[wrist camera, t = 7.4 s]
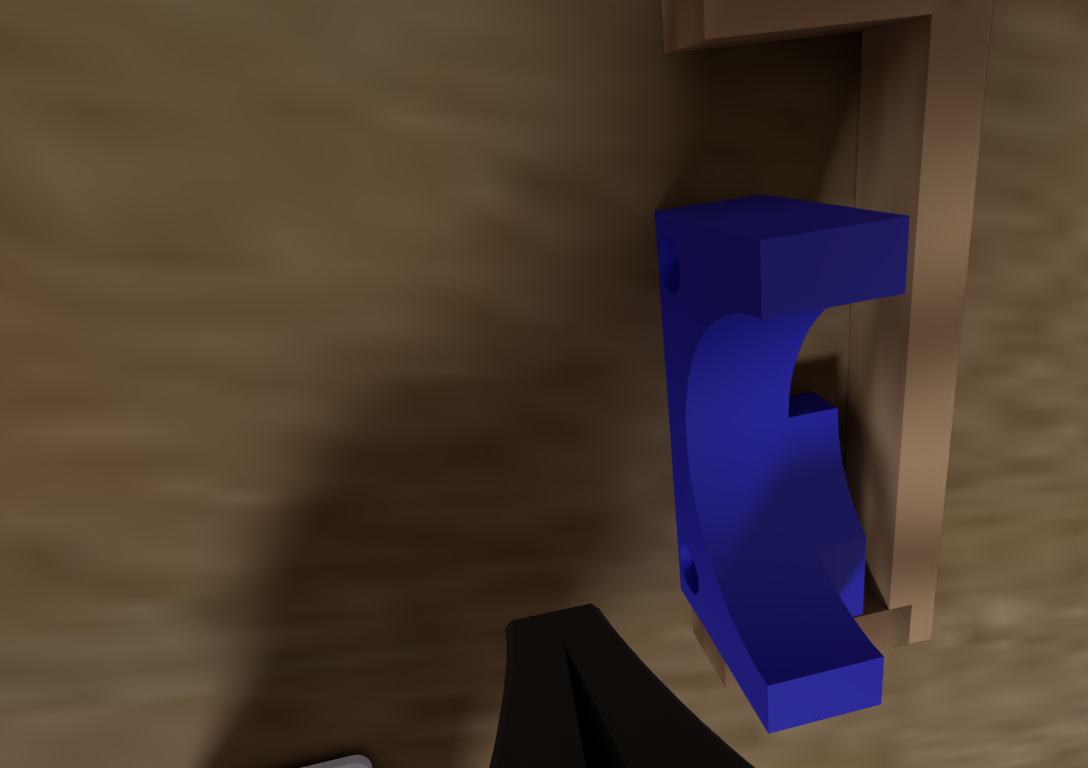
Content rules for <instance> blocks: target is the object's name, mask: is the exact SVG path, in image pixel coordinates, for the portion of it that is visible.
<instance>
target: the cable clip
mask: <svg viewBox="0 0 1088 768" xmlns="http://www.w3.org/2000/svg"><path fill="white" fill-rule="evenodd" d="M655 221H656V235H657V249H658V264H659V278H660V293H661V307H662V321H663V336H664V350H665V365H666V379H667V393H668V408H669V422H670V436H671V451H672V465H673V480H674V494H675V508H676V523H677V537H678V552H679V566H680V580H681V590H682V591H683V593H684V595H685V596H686V598H687V600H688V601H689V603H690V604H691V606H692V608H693V609H694V611H695V613H696V614H697V616H698V618H699V619H700V621H701V623H702V624H703V626H704V628H705V629H706V631H707V633H708V634H709V636H710V638H711V639H712V641H713V643H714V644H715V646H716V648H717V649H718V651H719V652H720V654H721V656H722V657H723V659H724V661H725V662H726V664H727V666H728V667H729V669H730V671H731V672H732V674H733V676H734V677H735V679H736V681H737V682H738V684H739V686H740V687H741V689H742V691H743V692H744V694H745V696H746V697H747V699H748V700H749V702H750V704H751V705H752V707H753V709H754V710H755V712H756V714H757V715H758V717H759V719H760V720H761V722H762V724H763V725H764V727H765V729H766V730H767V732H768V734H769V733H773V732H777V731H780V730H784V729H788V728H792V727H796V726H800V725H803V724H807V723H811V722H815V721H819V720H823V719H826V718H830V717H834V716H838V715H842V714H846V713H849V712H853V711H857V710H861V709H865V708H869V707H872V706H876V705H880V704H881V697H882V680H883V663H884V656H883V655H882V654H881V653H880V652H879V650H878V649H877V648H876V647H875V646H874V645H873V644H872V642H871V641H870V640H869V638H868V637H867V636H866V635H865V633H864V632H863V631H862V629H861V628H860V627H859V625H858V624H857V622H856V621H855V619H854V618H853V616H857V615H861V614H863V598H864V575H865V552H866V536H865V533H864V531H863V529H862V526H861V524H860V521H859V519H858V516H857V513H856V510H855V507H854V504H853V502H852V499H851V495H850V492H849V488H848V484H847V481H846V476H845V472H844V467H843V462H842V456H841V450H840V442H839V432H838V408H837V407H836V406H834V405H832V404H831V403H829V402H828V401H826V400H824V399H823V398H821V397H820V396H818V395H816V394H815V393H813V392H809V393H804V394H799V395H794V396H789V394H790V386H791V379H792V374H793V369H794V365H795V362H796V358H797V355H798V352H799V349H800V347H801V344H802V342H803V339H804V338H805V336H806V334H807V332H808V330H809V328H810V327H811V325H812V324H813V323H814V321H815V320H816V318H817V317H818V316H819V315H820V314H821V313H822V312H823V311H824V310H825V309H826V308H828V307H834V306H839V305H845V304H850V303H856V302H861V301H867V300H873V299H878V298H884V297H889V296H895V295H900V294H905V289H906V272H907V255H908V238H909V221H910V216H908V215H901V214H894V213H887V212H880V211H873V210H866V209H859V208H852V207H845V206H838V205H832V204H825V203H818V202H811V201H804V200H797V199H790V198H783V197H776V196H769V195H756V196H749V197H743V198H737V199H730V200H724V201H717V202H711V203H705V204H698V205H692V206H685V207H679V208H672V209H666V210H660V211H655Z"/></svg>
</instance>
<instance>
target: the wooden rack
mask: <svg viewBox="0 0 1088 768" xmlns="http://www.w3.org/2000/svg"><path fill="white" fill-rule="evenodd" d="M661 2H662V21H663V41H664V54H670V53H679V52H687V51H696V50H705V49H713V48H722V47H731V46H740V45H748V44H757V43H766V42H774V41H783V40H792V39H800V38H809V37H818V36H827V35H835V34H844V33H853V32H861V31H862V55H861V80H860V104H859V129H858V154H857V179H856V203H855V208H859V209H866V210H873V211H880V212H887V213H894V214H901V215H908V216H910V221H909V238H908V255H907V272H906V289H905V294H900V295H895V296H889V297H884V298H878V299H873V300H867V301H861V302H856V303H851V327H850V352H849V377H848V401H847V426H846V451H845V476H846V481H847V484H848V488H849V492H850V495H851V499H852V502H853V504H854V507H855V510H856V513H857V516H858V519H859V521H860V524H861V526H862V529H863V531H864V533H865V536H866V552H865V575H864V598H863V614H861V615H857V616H853V618H854V619H855V621H856V622H857V624H858V625H859V627H860V628H861V629H862V631H863V632H864V633H865V635H866V636H867V637H868V638H869V640H870V641H871V642H872V644H873V645H874V646H875V647H876V648H877V649H878V650H879V651H882V650H886V649H890V648H895V647H899V646H903V645H907V644H911V643H915V642H919V641H924V640H928V639H931V630H932V619H933V609H934V599H935V589H936V579H937V569H938V559H939V549H940V539H941V529H942V519H943V509H944V499H945V489H946V479H947V468H948V458H949V448H950V438H951V428H952V418H953V408H954V398H955V388H956V378H957V368H958V358H959V348H960V338H961V328H962V317H963V307H964V297H965V287H966V277H967V267H968V257H969V247H970V237H971V227H972V217H973V207H974V197H975V187H976V176H977V166H978V156H979V146H980V136H981V126H982V116H983V106H984V96H985V86H986V76H987V66H988V56H989V46H990V36H991V25H992V15H993V5H994V0H661ZM693 628H694V634H695V636H696V637H697V639H698V641H699V643H700V644H701V646H702V648H703V650H704V651H705V653H706V655H707V657H708V658H709V660H710V662H711V664H712V665H713V667H714V669H715V671H716V672H717V674H718V676H719V677H720V679H721V681H722V683H723V684H724V686H725V688H729V687H733V686H737V685H739V684H738V682H737V681H736V679H735V677H734V676H733V674H732V672H731V671H730V669H729V667H728V666H727V664H726V662H725V661H724V659H723V657H722V656H721V654H720V652H719V651H718V649H717V648H716V646H715V644H714V643H713V641H712V639H711V638H710V636H709V634H708V633H707V631H706V629H705V628H704V626H703V624H702V623H701V621H700V619H699V618H698V616H697V614H696V613H695V611H694V609H693Z"/></svg>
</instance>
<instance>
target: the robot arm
mask: <svg viewBox="0 0 1088 768" xmlns="http://www.w3.org/2000/svg"><path fill="white" fill-rule="evenodd" d="M505 631H506V638H507V662H506V675H505V684H504V693H503V700H502V706H501V712H500V718H499V724H498V730H497V736H496V741H495V745H494V750H493V754H492V758H491V763H490V767H489V768H755V767H753V766H752V765H751V764H750V763H749V762H747V761H746V760H745V759H744V758H743V757H741V756H740V755H739V754H738V753H737V752H736V751H734V750H733V749H732V748H731V747H730V746H729V745H727V744H726V743H725V742H724V741H723V740H722V739H721V738H720V737H719V736H717V735H716V734H715V733H714V732H713V731H712V730H711V729H710V728H709V727H707V726H706V725H705V724H704V723H703V722H702V721H701V720H700V719H699V718H698V717H697V716H696V715H694V714H693V713H692V712H691V711H690V710H689V709H688V708H687V707H686V706H685V705H684V704H683V703H682V702H681V701H680V700H679V699H678V698H677V697H676V696H675V695H674V694H673V693H672V692H671V691H670V690H669V689H668V688H667V687H666V686H665V685H664V684H663V683H662V682H661V681H660V680H659V679H658V678H657V677H656V676H655V675H654V674H653V672H652V671H651V670H650V669H649V668H648V667H647V666H646V665H645V664H644V663H643V662H642V661H641V659H640V658H639V657H638V656H637V655H636V654H635V653H634V652H633V650H632V649H631V648H630V647H629V646H628V645H627V644H626V642H625V641H624V640H623V639H622V638H621V637H620V635H619V634H618V633H617V632H616V630H615V629H614V628H613V627H612V626H611V624H610V623H609V622H608V620H607V619H606V618H605V616H604V615H603V614H602V612H601V611H600V610H599V608H597V607H596V606H594V605H593V604H587V605H582V606H578V607H573V608H568V609H564V610H559V611H554V612H549V613H545V614H540V615H535V616H531V617H526V618H521V619H517V620H512V621H511V622H510V623H509V624H508V626H507V627H506V628H505ZM301 768H373V767H372V764H371V762H370V760H369V759H368V758H366V757H365V756H361V755H352V756H348V757H343V758H339V759H335V760H331V761H327V762H322V763H318V764H314V765H310V766H305V767H301Z"/></svg>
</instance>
